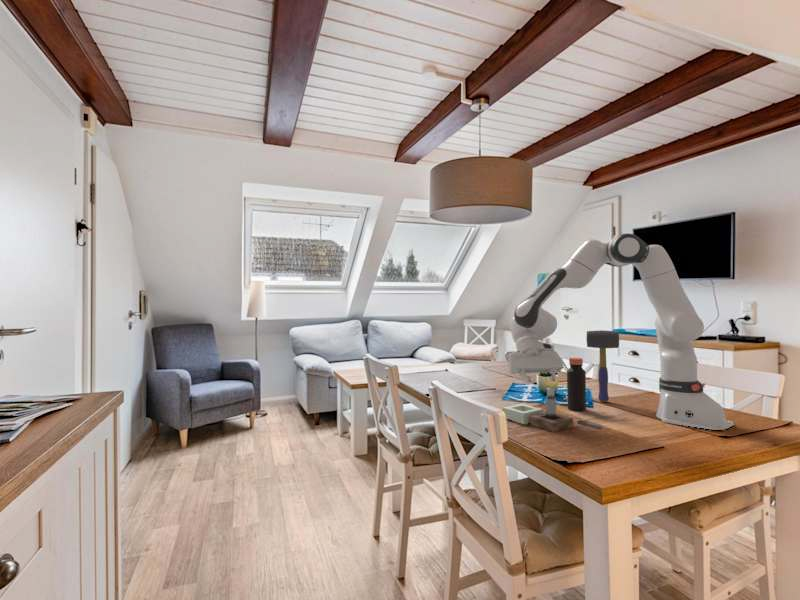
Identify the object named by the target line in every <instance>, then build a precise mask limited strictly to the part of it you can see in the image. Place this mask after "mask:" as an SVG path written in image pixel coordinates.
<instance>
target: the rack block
mask: <svg viewBox="0 0 800 600" xmlns="http://www.w3.org/2000/svg"><path fill="white" fill-rule="evenodd" d="M503 411H504V412H505V414H506V416H507V419H506V420H508V419H510V420H513V421H516V422H519V423H521V424H520V425H522V424H526V425H529V424H528V423H530V416H533V415H537V414H541V413H544V409H543V408H540V407H536V406H533V405H532V406H531V405H528V404H525V403H519V404H514V405H508V406H504V407H502V412H503ZM510 420H508V421H510ZM513 421H512V422H513ZM516 422H515V423H516ZM519 423H518V424H519Z"/></svg>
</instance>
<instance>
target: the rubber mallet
mask: <svg viewBox="0 0 800 600" xmlns="http://www.w3.org/2000/svg"><path fill="white" fill-rule="evenodd" d="M585 337H586V347H587V348H593V349H599V367H598V372H597V373H598V374H597V376H598V377H597V378H598V388H599V389H598V395H597V396H598V397H597V398H598V400H599V402H601V403H608V401H609V399H610V398H609V393H608V392H609V389H608V384H609V383H608V382H609V371H608V367H607V349H619V348H620V333H619V331H615V330H587V331H586V336H585Z"/></svg>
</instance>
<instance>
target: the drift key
mask: <svg viewBox="0 0 800 600" xmlns="http://www.w3.org/2000/svg"><path fill="white" fill-rule="evenodd" d="M576 423H577V424H578V425H582V426H586V427H591V428H594V429H598V430H600V429H602V428H603V425H601V424H598V423H593V422H591V421H586V420H582V419H580V420H577V421H576Z"/></svg>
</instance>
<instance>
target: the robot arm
mask: <svg viewBox="0 0 800 600" xmlns="http://www.w3.org/2000/svg"><path fill="white" fill-rule="evenodd" d="M604 265H608V266H612V267H617V268H618V267H625V266H628V265H633V266H634V267H635V268H636V269H637V271H638V272H639V276H640V279H641V281H642V285H643V287H644V289H645V292H646V295H647V297H648V300H649V302H650V303H651V304H652V306H653V308H654V310H655V311H656V313H657V315H658V316H657V317H656V318H655V322H654V326H655V330H656V338H657V344H658V351H659V360H660V361H659V362H660V366H659V367H660V377H659V382H658V383H659V384H658V386H659V387H658V388H659V400H658V401H659V402H658V406H657V411H656V414H655V417H657V418H658V419H660V420H661V421H662V422H663V423H665V424H673V425H677V426H682V425H683V427H688V426H690V427H689V428H694V427H697V428H696V429H699V428H704V429H703V430H705V429H713V430H716V429H726V428H729V427H731V426H733V425H734V422H733V421H731V420H727V419H726V415H725V411H724V408H723V406H722V405H721V404H720V403H719V402H717V401H715V400H714V399H713V398H712V397H710V396H709V395H708V394H706V392H705V391H704V388H706V383H701V382H700V381H699V380H698V358H697V355H696V353H695V348H694V344H693V341H695V340H697V339H699V338H700V337H701V336H702V334H703V333H704V329H705V325H704V321H702V319H701V318H700V316H699V315H698V313H697V310H695V307H694V305H693V304H692V302H691V300H690V299H689V297H688V296H687V294H686V292H685V290H684V288H683V284H682V282H681V281H680V278H679V277H680V276H678V273H677V270H676V268H675V265H674V263H673V261H672V259H671V257H670V255H669V254H668V252H667V251H666V249H665V248H664V247H663V246H662V245H659V244H649V245H648V243H646V242H645V241H644V240H643V239H641V238H640V237H639V236H637V235H636V234H633V233H621V234H619V235H617V236H615V237H613V238H612V239H611V240H610V241H608V242H605V243H604V242H602V241H600V240H598V239H593V238H592V239H587V240H585V241H584V242H583V243H582V244H581V245H580V246H579V247H578V248H576V250H575V251H574V253H572V255H571V256H570V258H568V260H567V261H566V262H565V264H564V265H563V266H561V267H560V268H559V267H558V268H556V269H554V270H553V271H551V272H550V273H549V274H548V275H547V276H546V277H545V278H544V279H543V280H542V281H541V282H540V284H539V285H538V286H537V287H536V288H535V289H534V290H533V291H532V292H531V293H530V294H529V295H528V296H527V297H526V298H525V299H524V300H523V301H521V302H520V303H519V304H518V305H516V308H515V309H514V313H513V314H514V315H513V316H514V317H513V318H512V319H511V320H510V322H509V324H510V325H509V328H510V333H511V336H512V339H513V342H514V343H515V349H516V350H513V351H510V350H508V351H507V352H505V353H504V357H505V360H506V362H507V367H508V371H509V372H510V373H511V374H512V375H513V374H515V375H516V374H519V376H520V377H521V378H523V380H524V381H525V383H528V384H529V383H531V381H532V379H531V376H530V375H527V374H539V373H540V374H545V373H550V374H549V375H550V376H549V380H550V382H553V383H554V382H556V380H557V378H556V373H561V371H562V369H563V368H564V363H563V361H562V358H561V357H560V355H559V353H558V352H557V351H556V350H555V346H554V345H553V344H550V343H546V342H542V341H541V340H543V339H545V338H548V337H550V336H552V334H554V333H555V331H556V330H557V327H558V320H557V317H556V316H554V315H553V314H552V313H550V312H549V311H547V310H545V309H544V308H542V306H543V305H544V304H545V303H546V302H547V301H548V300H549V298H551V297H552V295H553V294H554V293H555V292H557V291H558V290H560V289H563V288H566V289H573V290H575V289H581V288H584V287H586V286H587V285H588V284H589V283H591V282H592V280H593V279H594V278H595V276H596V275H597V273H598V272H599V270H600V269H601V268H602V267H603V266H604ZM509 372H508V373H509ZM733 427H734V426H733Z"/></svg>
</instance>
